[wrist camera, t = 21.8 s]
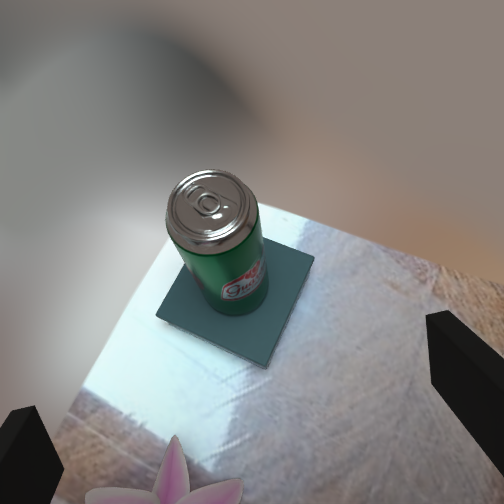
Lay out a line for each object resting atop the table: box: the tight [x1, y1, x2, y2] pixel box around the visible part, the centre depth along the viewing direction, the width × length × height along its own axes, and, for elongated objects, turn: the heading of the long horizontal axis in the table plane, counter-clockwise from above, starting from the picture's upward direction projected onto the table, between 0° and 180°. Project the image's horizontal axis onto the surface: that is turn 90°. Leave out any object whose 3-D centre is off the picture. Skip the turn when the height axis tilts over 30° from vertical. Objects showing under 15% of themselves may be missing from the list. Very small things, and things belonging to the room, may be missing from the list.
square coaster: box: [156, 237, 314, 369], centre depth 34 cm, size 9×9×3 cm
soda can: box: [165, 169, 269, 315], centre depth 28 cm, size 5×5×12 cm
